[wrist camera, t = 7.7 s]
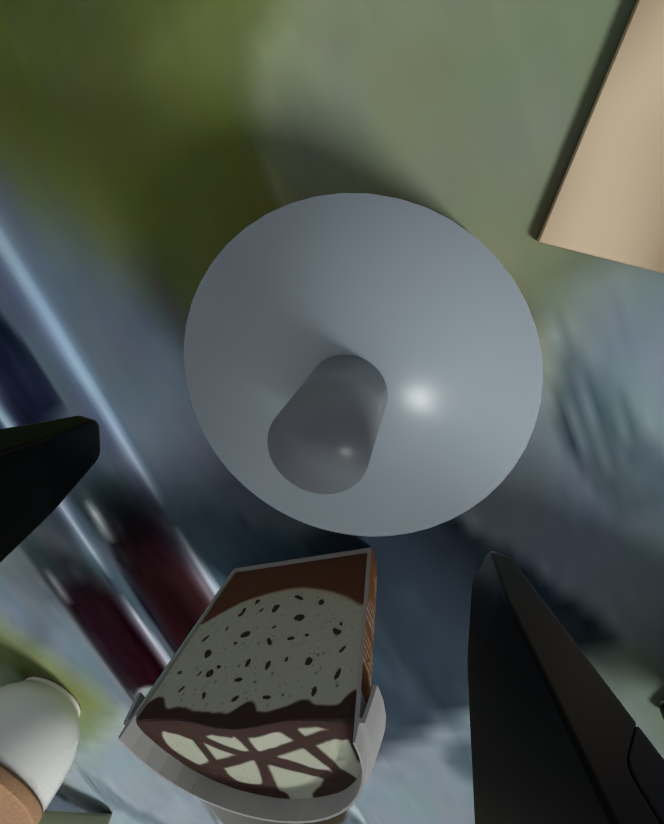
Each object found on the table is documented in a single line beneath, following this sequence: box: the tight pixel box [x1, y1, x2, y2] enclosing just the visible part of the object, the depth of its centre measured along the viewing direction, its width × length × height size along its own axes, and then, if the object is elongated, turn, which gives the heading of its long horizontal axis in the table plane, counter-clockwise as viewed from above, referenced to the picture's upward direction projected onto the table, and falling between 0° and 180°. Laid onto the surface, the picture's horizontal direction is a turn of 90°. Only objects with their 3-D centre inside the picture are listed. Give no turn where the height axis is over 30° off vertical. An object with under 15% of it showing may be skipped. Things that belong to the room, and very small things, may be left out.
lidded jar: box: [0, 676, 81, 824], centre depth 36 cm, size 11×11×9 cm
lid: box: [184, 193, 543, 536], centre depth 14 cm, size 12×12×5 cm
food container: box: [118, 547, 386, 823], centre depth 22 cm, size 12×6×10 cm, turn 113°
